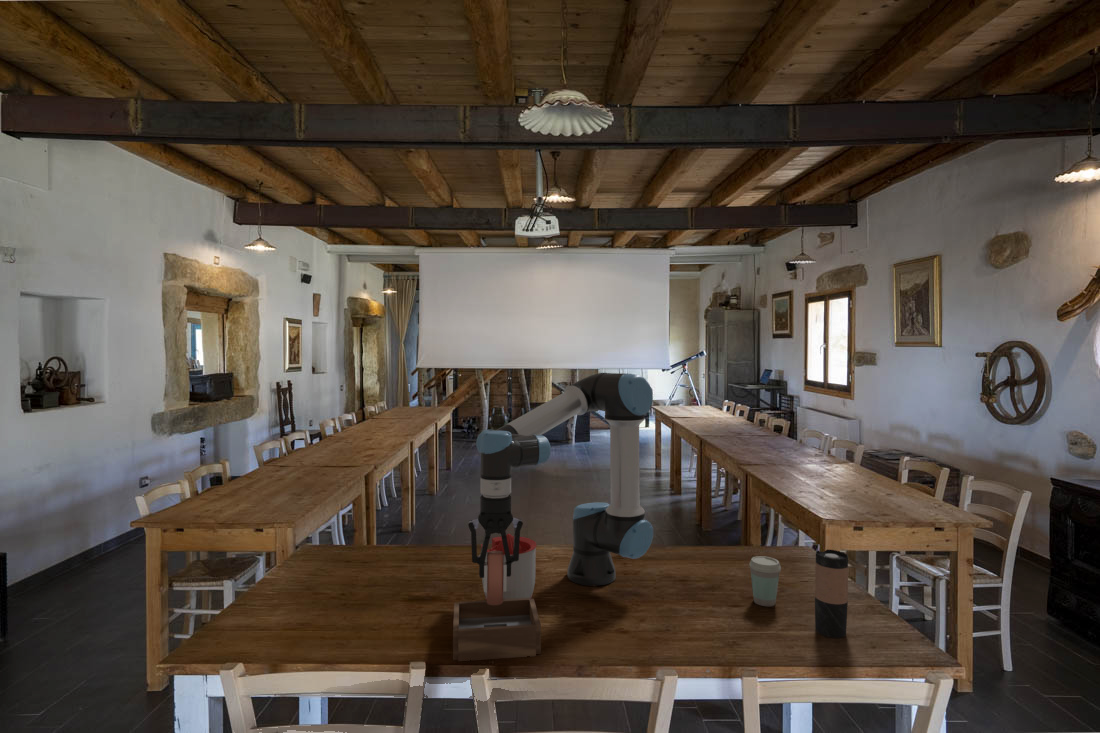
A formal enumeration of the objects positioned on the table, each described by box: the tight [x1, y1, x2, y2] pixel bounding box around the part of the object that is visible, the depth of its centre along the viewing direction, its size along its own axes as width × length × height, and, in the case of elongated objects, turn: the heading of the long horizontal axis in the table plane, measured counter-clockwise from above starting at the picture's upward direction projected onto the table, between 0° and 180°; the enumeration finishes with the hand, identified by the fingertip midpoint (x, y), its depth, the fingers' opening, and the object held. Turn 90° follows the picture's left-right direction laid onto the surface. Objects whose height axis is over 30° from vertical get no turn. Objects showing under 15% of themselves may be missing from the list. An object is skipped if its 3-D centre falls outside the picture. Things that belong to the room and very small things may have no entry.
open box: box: [452, 598, 542, 662], centre depth 148 cm, size 16×20×7 cm
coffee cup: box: [748, 555, 782, 607], centre depth 171 cm, size 8×9×12 cm
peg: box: [487, 551, 504, 605], centre depth 147 cm, size 4×4×12 cm
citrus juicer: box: [477, 533, 537, 600], centre depth 170 cm, size 16×17×20 cm
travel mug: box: [814, 549, 849, 639], centre depth 153 cm, size 8×8×20 cm
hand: (495, 589), depth 147 cm, fingers closed on peg, 4 cm apart
